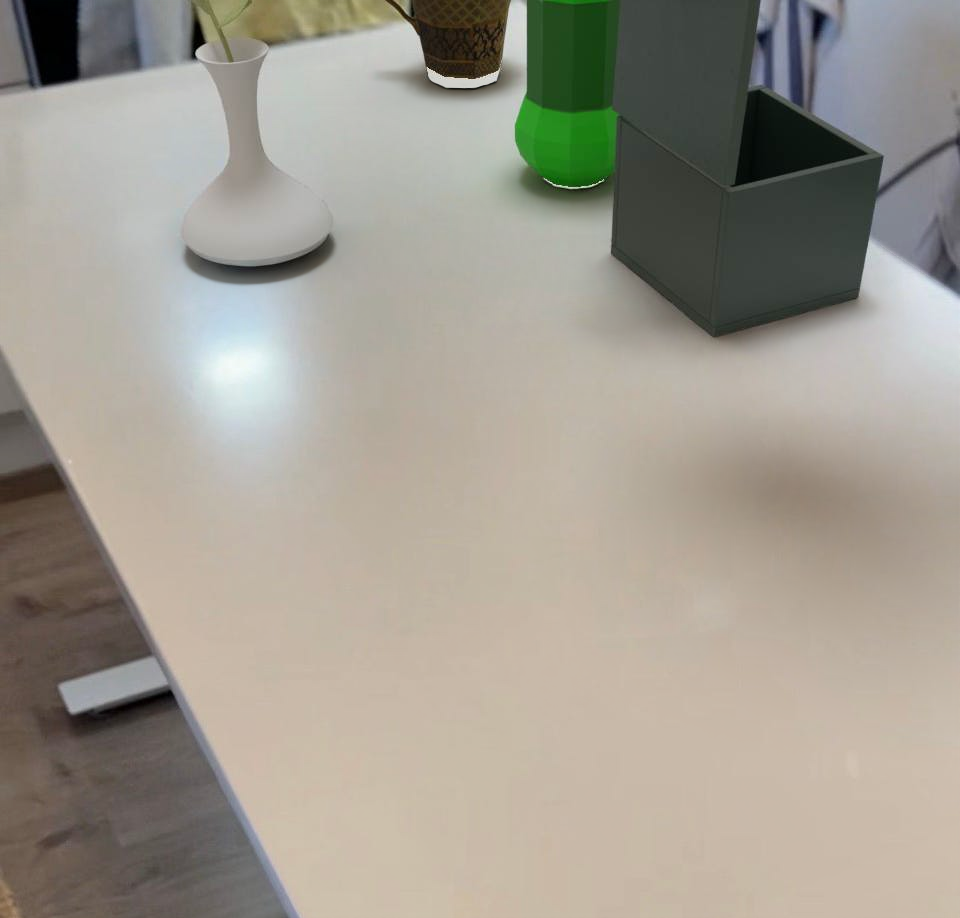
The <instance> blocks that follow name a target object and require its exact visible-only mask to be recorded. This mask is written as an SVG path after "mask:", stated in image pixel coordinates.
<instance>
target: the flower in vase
mask: <svg viewBox="0 0 960 918" xmlns="http://www.w3.org/2000/svg"><path fill="white" fill-rule="evenodd" d="M188 1H189V2H191V3H193V4H195V5H196V6H197V7H199V8H200V9H201V10H202V11H203V12H204V13H206V14H207V15H209V17H210V19H211V22H212V24H213V25H214V26H213V27H214V28H215V30H216V32H217V34H218V37H219V39H216V40H212V41H208V42H206V43H204V44H202V45H200V46H199V47H198V48H197V49H196V50H195V56H196V57H195V58H197V60H198V61H199V62H200V63H201V64H202V65H203V66H204V68H205V69H206V71H207V72H208V73H209V75H210V76H211V78H212V80H213V82H214V85H215V87H216V89H217V93H218V95H219V98H220V100H221V105H222V109H223V112H224V116H225V122H226V127H227V132H228V133H227V134H228V143H229V153H228V154H229V155H228V159H227V163H226V165H225V166H224V168H223V170H222V171H221V172H220V173H219V174H218V175H217V176H216V178H215V179H213V181H211V182H210V183H209V184H208V185H207V186H206V187H205V188H204V190H202V191H201V193H199V194H198V196H197V197H196V198H195V199H194V200H193V201H192V203H191V205H190V206H189V207H188V209H187V210H186V212H185V213H184V215H183V218H182V223H181V227H180V228H181V229H180V235H181V239H182V240H183V242H184V243H185V245H187V246H188V248H189V249H190V250H191V251H192V252H193V253H194V254H196V255H197V256H199V257H201V258H203V259H205V260H207V261H210V262H214V263H217V264H222V265H227V266H228V265H229V266H237V267H261V266H269V265H275V264H280V263H284V262H288V261H291V260H294V259H297V258H300V257H302V256H304V255H306V254H309V253H310V252H312V251H314V250H315V249H317V248H318V247H320V246H321V245H322V244H323V243H324V242H325V240H326V239H327V238H328V236H329V235H330V232H331V230H332V228H333V225H334V217H333V215H332V212H331V210H330V208H329V206H328V204H327V203H326V201H325V200H324V199H323V198H322V197H321V196H320V195H319V194H317V193H316V192H315V191H314V190H313V189H312V188H310V187H309V186H307V185H306V184H305V183H303V182H302V181H300V180H298V178H295V177H294V176H292V175H290V174H288V173H287V172H285V171H284V170H282V169H281V168H279V167H278V166H276V165H275V164H274V163H273V162H272V161H271V160H270V159H269V157H268V155H267V154H266V152H265V148H264V145H263V143H262V138H261V132H260V126H259V116H258V115H259V113H258V84H259V77H260V72H261V70H262V69H261V68H262V65H263V63H264V62H265V59H266V57H267V56H268V53H269V50H270V48H269V45H268V44H267V43H266V42H265V41H262V40H260V39H257V38H250V37H227V38H226V36H225V34H224V32H223V30H222V27H225V26H226V25H228V24H230V23H231V22H233V21H234V20H236V19H237V18H238V17H239V16H240V15H241V14H242V13H243V11H244V10H245V9H247V8H249V7H250V6H251V5H252V4H253V0H247V1H246V3H245V4H243V5H241V6H239V7H237V8H236V9H234V10H233V11H230V13H228V14H227V15H226V16H225V17H224V18H223V20H222V21H220V23H219V20H218V17H217V16H216V14H215V12H214V10H213V7H212V5H211V2H210V0H188Z"/></svg>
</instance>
